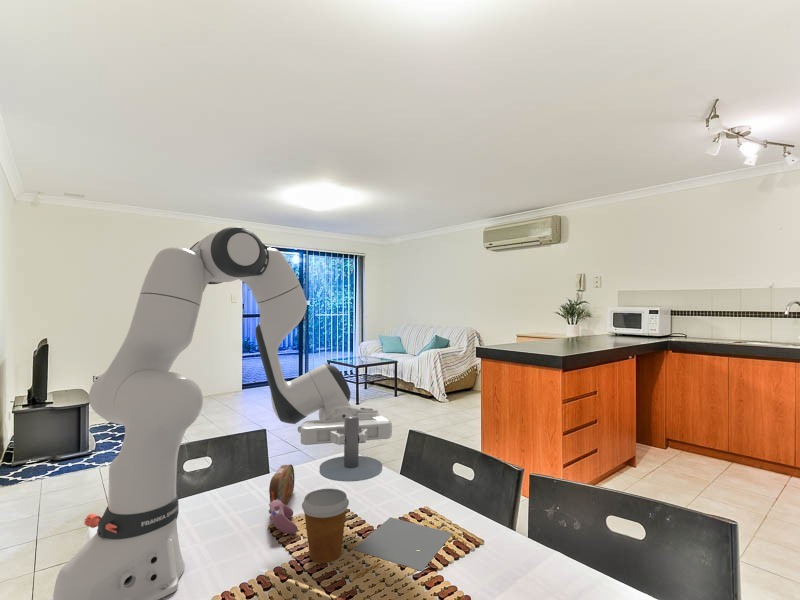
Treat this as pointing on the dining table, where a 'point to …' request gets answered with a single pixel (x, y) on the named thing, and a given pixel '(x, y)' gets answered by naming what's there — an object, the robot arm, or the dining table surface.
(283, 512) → the video game controller
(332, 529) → the disposable coffee cup
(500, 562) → the dining table surface
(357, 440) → the lid
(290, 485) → the tin
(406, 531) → the mat
